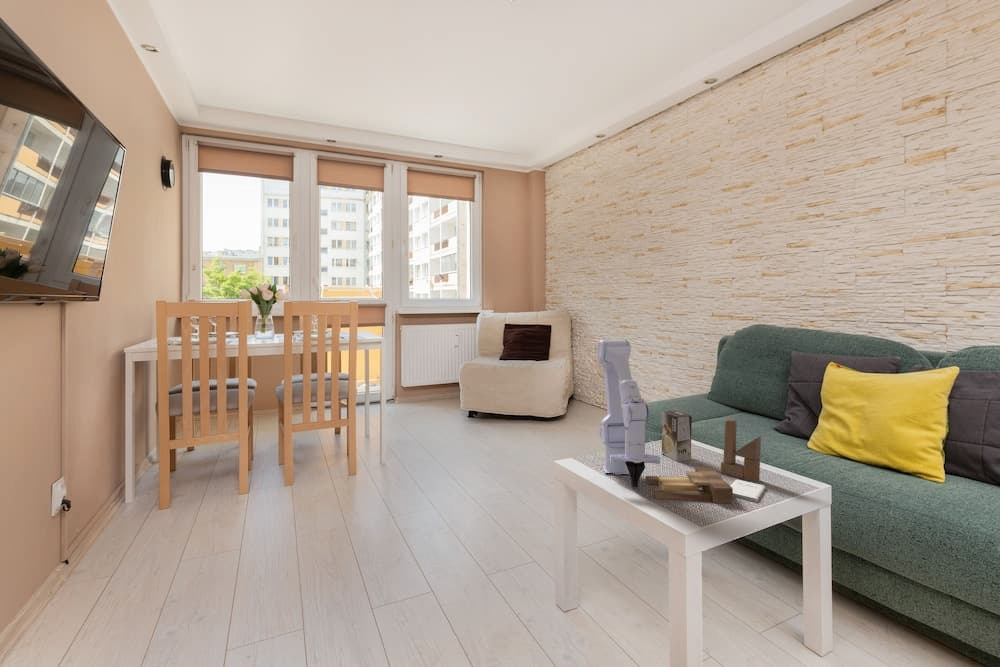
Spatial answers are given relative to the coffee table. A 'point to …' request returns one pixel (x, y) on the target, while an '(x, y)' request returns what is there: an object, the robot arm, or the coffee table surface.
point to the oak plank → (677, 484)
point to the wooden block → (748, 452)
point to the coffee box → (676, 435)
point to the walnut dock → (706, 479)
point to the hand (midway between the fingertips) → (634, 485)
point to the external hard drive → (747, 490)
